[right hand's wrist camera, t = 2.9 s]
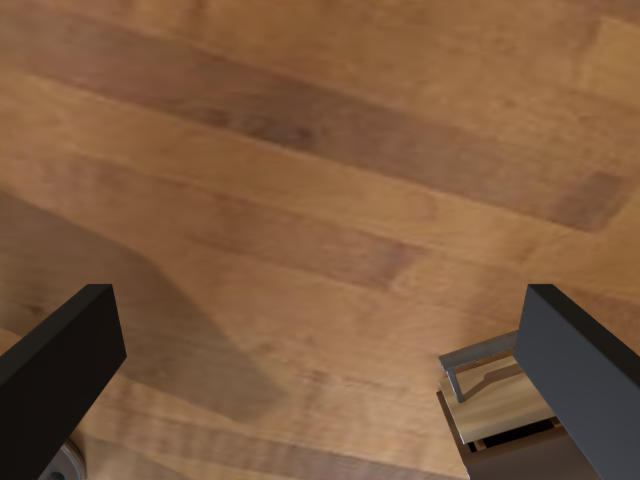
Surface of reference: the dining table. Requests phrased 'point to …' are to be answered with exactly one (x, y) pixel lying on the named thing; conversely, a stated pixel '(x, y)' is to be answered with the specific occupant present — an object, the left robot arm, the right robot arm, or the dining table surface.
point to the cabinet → (524, 456)
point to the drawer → (493, 396)
